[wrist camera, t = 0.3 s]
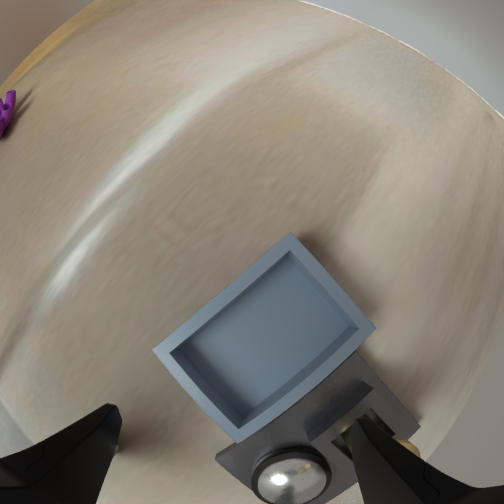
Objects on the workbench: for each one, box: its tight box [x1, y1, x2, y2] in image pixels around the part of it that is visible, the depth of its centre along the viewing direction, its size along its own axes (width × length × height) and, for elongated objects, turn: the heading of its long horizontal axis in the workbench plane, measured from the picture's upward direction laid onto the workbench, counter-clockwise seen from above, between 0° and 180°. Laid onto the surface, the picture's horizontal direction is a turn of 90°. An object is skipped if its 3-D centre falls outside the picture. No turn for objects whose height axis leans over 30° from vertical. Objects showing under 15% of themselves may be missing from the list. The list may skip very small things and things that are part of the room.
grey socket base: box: [215, 351, 421, 504], centre depth 18 cm, size 12×16×4 cm
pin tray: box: [153, 232, 376, 444], centre depth 21 cm, size 10×14×4 cm
